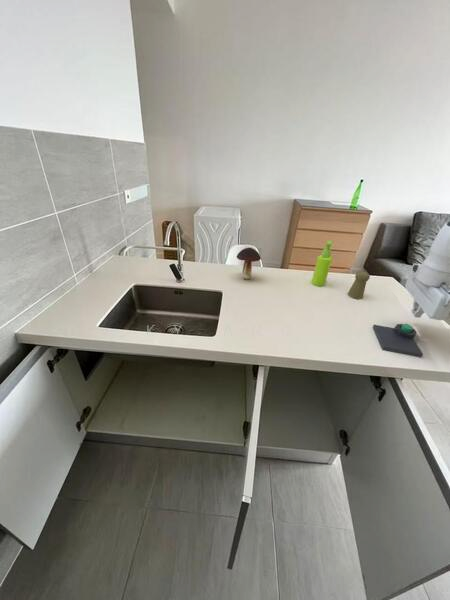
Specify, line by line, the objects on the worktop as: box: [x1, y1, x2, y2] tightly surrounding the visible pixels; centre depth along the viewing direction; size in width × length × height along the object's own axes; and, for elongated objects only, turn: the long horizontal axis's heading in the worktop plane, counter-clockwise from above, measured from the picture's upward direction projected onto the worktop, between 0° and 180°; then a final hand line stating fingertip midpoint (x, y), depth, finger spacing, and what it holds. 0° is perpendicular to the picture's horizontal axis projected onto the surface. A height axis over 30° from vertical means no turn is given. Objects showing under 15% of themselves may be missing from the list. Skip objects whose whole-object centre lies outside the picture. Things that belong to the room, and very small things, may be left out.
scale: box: [372, 323, 424, 358], centre depth 79 cm, size 12×13×3 cm
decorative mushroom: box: [236, 247, 262, 280], centre depth 110 cm, size 11×11×15 cm
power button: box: [401, 323, 414, 333], centre depth 81 cm, size 3×3×2 cm
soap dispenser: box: [311, 239, 334, 287], centre depth 109 cm, size 6×7×20 cm
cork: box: [347, 270, 371, 300], centre depth 102 cm, size 6×6×11 cm
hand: (415, 314), depth 78 cm, fingers closed
